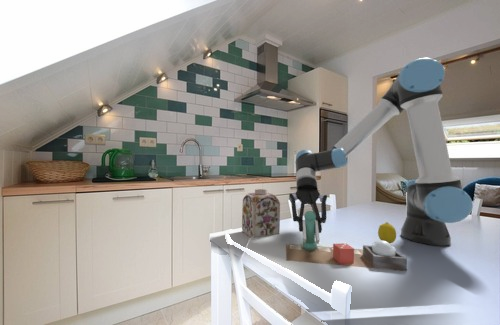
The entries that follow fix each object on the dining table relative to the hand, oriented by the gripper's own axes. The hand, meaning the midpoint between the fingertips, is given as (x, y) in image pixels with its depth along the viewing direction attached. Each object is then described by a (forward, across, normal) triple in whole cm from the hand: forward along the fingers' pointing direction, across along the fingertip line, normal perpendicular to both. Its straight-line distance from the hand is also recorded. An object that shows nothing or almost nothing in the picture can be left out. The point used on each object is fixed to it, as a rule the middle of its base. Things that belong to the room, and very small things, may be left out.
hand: (311, 241), depth 66 cm
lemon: (-8, -28, -15) cm, 33 cm away
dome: (+3, -20, 0) cm, 20 cm away
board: (+4, -8, -3) cm, 9 cm away
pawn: (0, 0, -5) cm, 5 cm away
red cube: (+5, -8, 0) cm, 10 cm away
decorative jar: (-9, +18, -17) cm, 26 cm away
